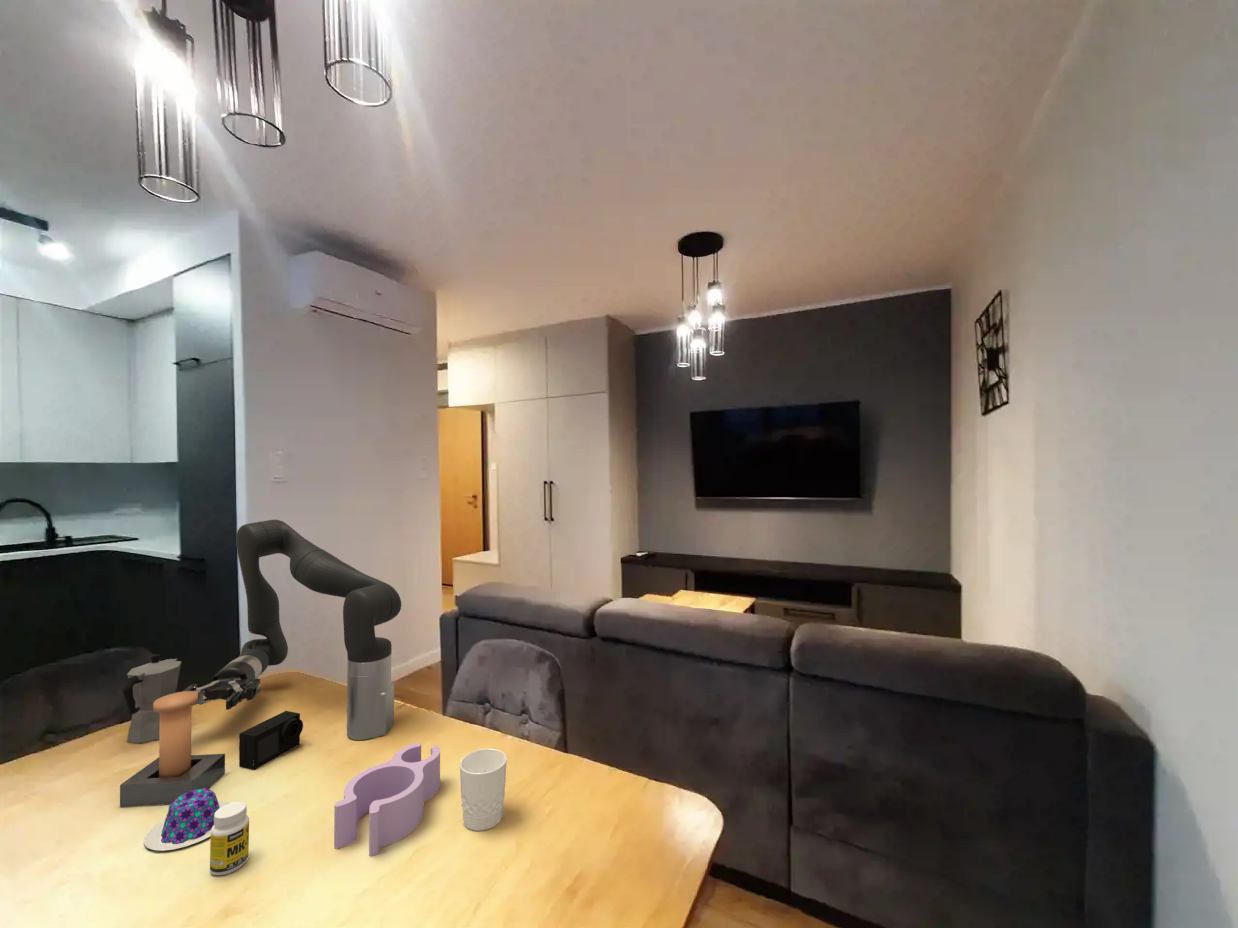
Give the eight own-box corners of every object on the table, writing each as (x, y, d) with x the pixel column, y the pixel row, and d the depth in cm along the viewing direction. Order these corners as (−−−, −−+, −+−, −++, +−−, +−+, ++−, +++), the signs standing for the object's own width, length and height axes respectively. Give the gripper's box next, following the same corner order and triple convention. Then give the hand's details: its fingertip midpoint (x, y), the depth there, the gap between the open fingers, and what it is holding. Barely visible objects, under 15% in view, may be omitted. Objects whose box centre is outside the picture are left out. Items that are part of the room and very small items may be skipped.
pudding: (161, 815, 90) (162, 785, 90) (244, 798, 95) (244, 770, 95) (129, 864, 79) (129, 830, 79) (224, 842, 84) (224, 809, 84)
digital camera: (258, 772, 103) (258, 737, 103) (238, 767, 105) (238, 732, 105) (304, 745, 113) (304, 713, 113) (285, 741, 115) (285, 709, 115)
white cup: (514, 808, 92) (515, 752, 92) (489, 838, 85) (490, 777, 85) (477, 799, 95) (477, 744, 95) (449, 827, 87) (450, 768, 88)
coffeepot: (152, 720, 123) (153, 645, 124) (196, 718, 125) (197, 643, 125) (98, 756, 108) (99, 670, 108) (149, 752, 110) (150, 668, 110)
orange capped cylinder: (205, 778, 101) (206, 690, 101) (180, 799, 94) (181, 705, 94) (169, 780, 100) (170, 691, 100) (142, 801, 94) (143, 706, 94)
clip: (400, 774, 103) (400, 739, 103) (456, 784, 100) (456, 748, 100) (320, 846, 83) (320, 803, 83) (386, 860, 80) (387, 816, 80)
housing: (224, 773, 102) (225, 753, 102) (192, 803, 93) (192, 780, 93) (159, 777, 101) (159, 756, 101) (119, 807, 92) (120, 784, 92)
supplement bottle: (227, 879, 76) (228, 821, 76) (201, 873, 77) (202, 817, 77) (256, 855, 81) (257, 801, 81) (231, 850, 82) (232, 797, 82)
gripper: (203, 663, 122) (163, 693, 106) (272, 658, 126) (243, 686, 110) (202, 695, 122) (162, 729, 106) (271, 689, 126) (243, 721, 110)
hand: (204, 707), depth 108 cm, fingers open, 8 cm apart
